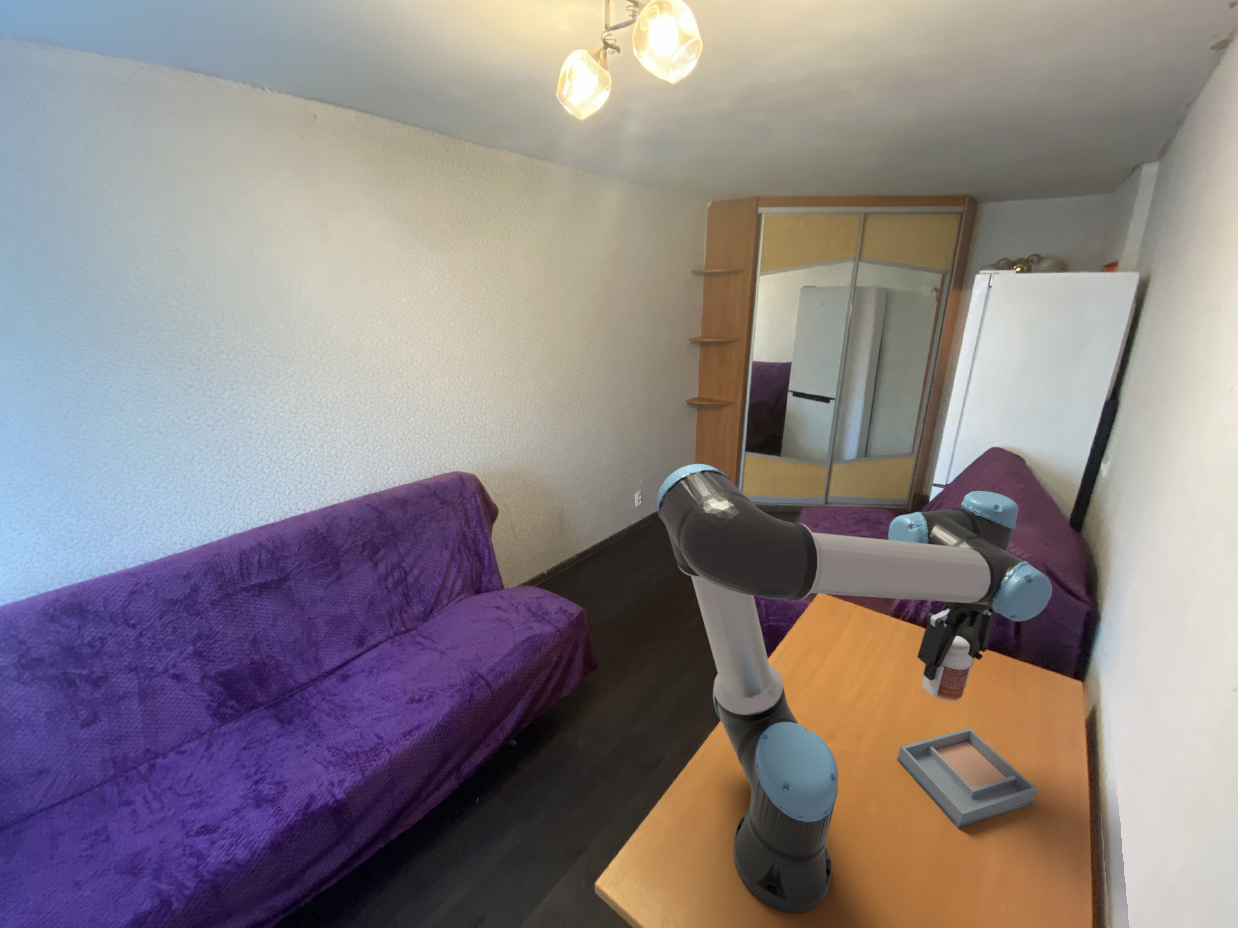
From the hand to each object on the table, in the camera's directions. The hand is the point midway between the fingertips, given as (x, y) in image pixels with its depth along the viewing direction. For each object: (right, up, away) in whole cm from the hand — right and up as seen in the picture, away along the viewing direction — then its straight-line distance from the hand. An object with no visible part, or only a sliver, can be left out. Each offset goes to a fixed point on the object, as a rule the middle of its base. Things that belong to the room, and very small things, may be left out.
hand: (943, 686), depth 98 cm
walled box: (+4, -18, +1) cm, 19 cm away
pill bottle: (0, -1, 0) cm, 1 cm away
